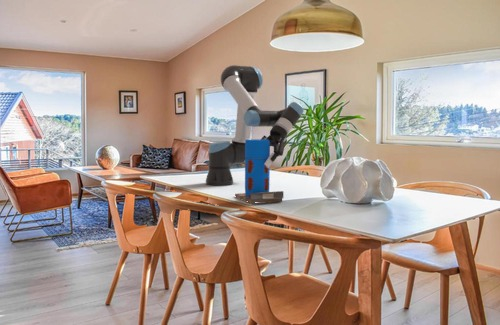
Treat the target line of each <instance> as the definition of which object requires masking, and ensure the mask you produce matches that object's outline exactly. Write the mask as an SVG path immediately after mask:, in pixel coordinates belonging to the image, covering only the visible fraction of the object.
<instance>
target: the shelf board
mask: <svg viewBox="0 0 500 325" xmlns="http://www.w3.org/2000/svg"><path fill="white" fill-rule="evenodd" d="M235 196H236V197H238V198H240V199H239V200H241V199H243V200H245V201H248V202H250V203H255V202H268V203H277V202H276V201H282V202H283V199H284V191H283V190H281V191H280V190H279V191H269V192H261V193H250V198H248V197H246V196H245V192H242V193H241V192H240V193H235V194H234V197H235ZM236 197H235V198H236ZM238 198H237V199H238ZM243 200H242V201H243ZM245 201H244V202H245ZM248 202H247V203H248ZM250 203H249V204H250ZM255 204H256V203H255Z"/></svg>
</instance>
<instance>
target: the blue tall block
mask: <svg viewBox="0 0 500 325" xmlns="http://www.w3.org/2000/svg"><path fill="white" fill-rule="evenodd" d="M270 149H271V146H270V141H269V140H264V139H262V138H261V139H258V138H256V139H252V138H251V139H249V140H246V141H245V164H244V193H245V196H246V197H248V198H250V193H261V192H270V168H271V166H270V167H269V168H267V167H266V166H265V164H264V163H265V162H266V160H267V159H268V158H269V156H270V155H271V153H270V152H271V150H270Z"/></svg>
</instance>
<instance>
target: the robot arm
mask: <svg viewBox="0 0 500 325" xmlns="http://www.w3.org/2000/svg"><path fill="white" fill-rule="evenodd" d="M263 80H264V79H263V74H262V71H261V70H260V69H259V68H258V67H255V66H246V65H235V64H234V65H228V66H227V67H225V68H224V70H222V73H221V75H220V84H221V86H222V88H223V89H224V91H226V92H228V93H229V94H230V95H231V97H232V98H233V100H234V101H235V102H236V104H237V110H236V122H235V136H234V137H233V138H232V140H231V141H230V140H222V141H214V142H211V143H210V144H209V145H208V172H207V176H206V178H205V185H210V186H231V185H233V184H234V178H233V176H232V175H233V174H232V172H231V165H238V164H239V165H245V141H246V140H249V139H252V138H251V134H252V133H251V132H252V127H254V128H255V127H257V128H258V127H260V128H261V127H271V129H270V131H269V136H266V135H263V136H262V138H261V139H264V140H269V141H270V147H273V152H271V153H270V156H269V158H268V159H267V160H266V162H265V163H264V164H265V166H266V167H267V168H269V167H270V168H271V165H272V164H273V163H274V162H275V160H276V159H277V158H278V157H279V156H281V157H282V156H283V154H284V150H285V146H286V143H287V141H288V139H287V137H288V134H289V133H290V132H291V130H292V129H293V128H294V126H295V125H296V123H297V122H298V121H299V119H300V118H302V115H303V113H304V107H303V106H302V105H301V104H300V103H298V102H296V101H291V102H290V104H288V106H287V107H286V108H283V109H281V110H262V109H261V108H260V107H259V106H258V104H257V103H256V101H255V95H257V93H258V90H259V89H261V88H262V86H263Z"/></svg>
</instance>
